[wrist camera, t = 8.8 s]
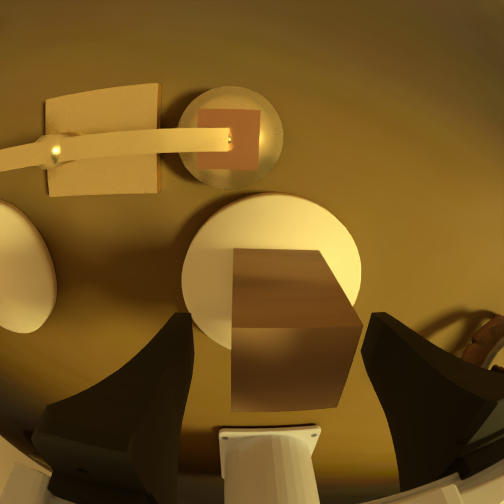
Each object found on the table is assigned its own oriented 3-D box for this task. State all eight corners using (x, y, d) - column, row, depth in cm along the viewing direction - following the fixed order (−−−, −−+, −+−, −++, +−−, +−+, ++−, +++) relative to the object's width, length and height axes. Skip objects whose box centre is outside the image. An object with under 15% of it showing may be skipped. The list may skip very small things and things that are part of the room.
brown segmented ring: (395, 401, 22) (442, 437, 14) (435, 298, 23) (495, 297, 15) (481, 419, 21) (529, 444, 13) (513, 333, 22) (568, 338, 14)
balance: (276, 192, 14) (302, 239, 8) (-8, 199, 13) (-79, 236, 8) (282, 85, 12) (315, 56, 7) (-13, 118, 11) (-90, 131, 6)
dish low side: (338, 343, 18) (342, 353, 17) (189, 343, 18) (187, 354, 17) (367, 198, 15) (374, 203, 14) (181, 189, 14) (177, 194, 13)
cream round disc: (71, 332, 17) (65, 341, 16) (-15, 316, 17) (-22, 323, 16) (42, 194, 14) (32, 199, 13) (-45, 203, 13) (-54, 207, 12)
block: (308, 320, 16) (336, 407, 10) (232, 320, 16) (231, 412, 10) (319, 250, 14) (363, 325, 9) (233, 248, 14) (231, 327, 9)
